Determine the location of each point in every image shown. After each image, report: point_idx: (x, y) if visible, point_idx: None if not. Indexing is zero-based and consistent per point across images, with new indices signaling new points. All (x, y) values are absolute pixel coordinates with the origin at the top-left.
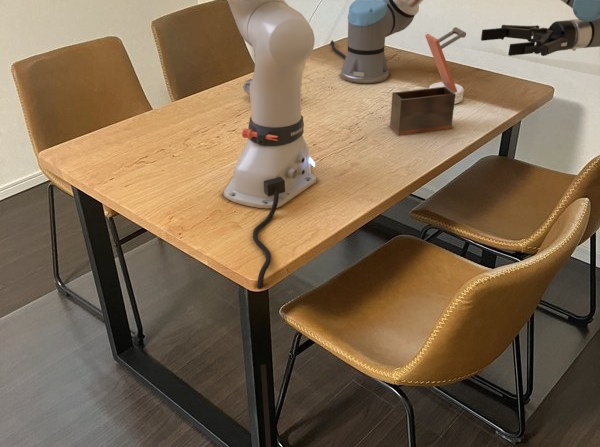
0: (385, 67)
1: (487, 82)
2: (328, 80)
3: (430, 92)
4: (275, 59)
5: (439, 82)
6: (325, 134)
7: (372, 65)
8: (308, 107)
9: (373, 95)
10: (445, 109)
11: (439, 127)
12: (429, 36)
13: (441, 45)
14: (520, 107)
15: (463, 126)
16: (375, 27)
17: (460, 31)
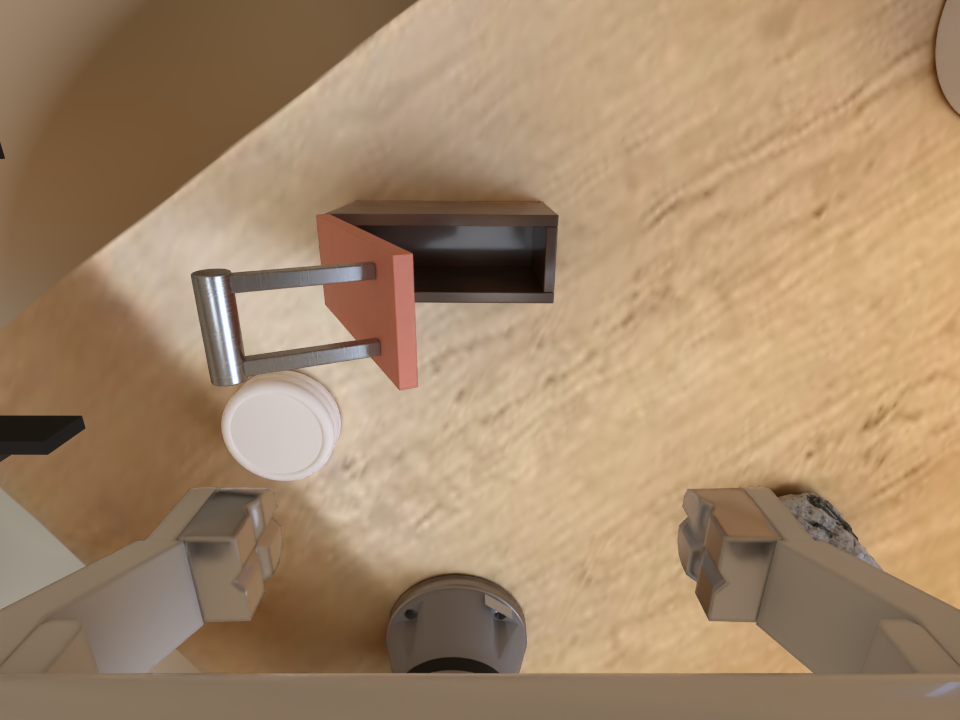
0: (402, 626)
1: (111, 498)
2: (568, 624)
3: None
4: None
5: (284, 477)
6: (751, 276)
7: (455, 623)
8: (706, 470)
9: (489, 499)
10: (373, 207)
11: (399, 201)
12: (408, 346)
13: (361, 276)
14: (69, 292)
15: (311, 204)
16: None
17: (218, 301)
